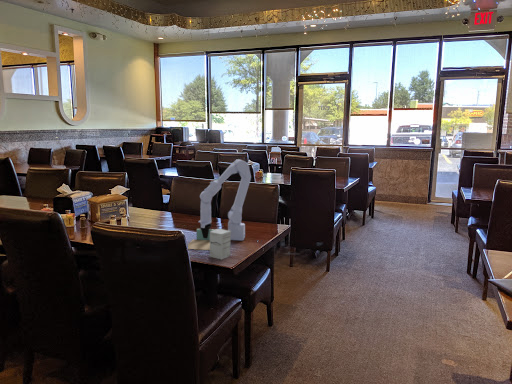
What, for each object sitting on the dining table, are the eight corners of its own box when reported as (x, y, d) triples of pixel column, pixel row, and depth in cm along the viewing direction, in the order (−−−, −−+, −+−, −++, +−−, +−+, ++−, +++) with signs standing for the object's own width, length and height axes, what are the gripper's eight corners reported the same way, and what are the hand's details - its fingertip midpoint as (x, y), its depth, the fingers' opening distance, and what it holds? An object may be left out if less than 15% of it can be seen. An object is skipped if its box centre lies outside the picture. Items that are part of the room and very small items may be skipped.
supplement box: (209, 257, 178) (209, 231, 176) (218, 253, 184) (218, 228, 182) (221, 260, 174) (221, 233, 172) (230, 255, 180) (231, 230, 178)
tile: (215, 240, 206) (215, 229, 205) (214, 240, 204) (214, 230, 203) (197, 239, 207) (197, 228, 206) (196, 240, 205) (196, 229, 204)
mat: (221, 241, 203) (221, 240, 203) (215, 250, 187) (215, 250, 187) (192, 240, 205) (192, 239, 205) (184, 249, 189) (184, 248, 189)
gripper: (201, 210, 210) (201, 233, 213) (195, 215, 196) (195, 240, 198) (214, 210, 210) (214, 234, 212) (208, 216, 196) (208, 241, 198)
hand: (205, 237), depth 205 cm, fingers closed on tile, 1 cm apart
